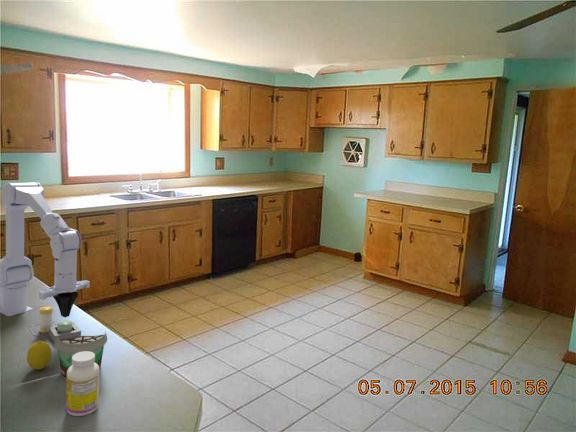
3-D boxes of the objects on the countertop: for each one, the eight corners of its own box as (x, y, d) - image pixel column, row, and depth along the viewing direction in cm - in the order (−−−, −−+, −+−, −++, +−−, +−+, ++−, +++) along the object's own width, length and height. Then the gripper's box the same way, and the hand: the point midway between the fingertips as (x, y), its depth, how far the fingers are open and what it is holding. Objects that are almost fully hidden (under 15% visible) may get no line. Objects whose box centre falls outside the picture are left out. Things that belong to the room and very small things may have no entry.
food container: (54, 386, 105) (54, 347, 103) (54, 373, 110) (54, 336, 108) (108, 377, 111) (109, 341, 109) (106, 365, 116) (107, 331, 114)
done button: (55, 330, 129) (55, 322, 128) (70, 327, 131) (70, 319, 131) (59, 335, 126) (59, 327, 125) (74, 332, 128) (74, 324, 128)
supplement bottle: (73, 399, 101) (74, 347, 98) (102, 400, 101) (104, 349, 99) (60, 417, 94) (61, 362, 92) (92, 418, 95) (93, 364, 93)
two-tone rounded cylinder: (36, 330, 130) (37, 308, 129) (48, 326, 133) (48, 305, 132) (43, 334, 129) (43, 312, 128) (55, 330, 132) (55, 308, 131)
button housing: (48, 334, 129) (48, 326, 129) (73, 329, 134) (73, 322, 133) (55, 343, 124) (55, 336, 123) (80, 338, 129) (81, 330, 128)
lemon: (56, 366, 113) (56, 337, 112) (42, 377, 108) (42, 347, 107) (36, 363, 114) (36, 334, 112) (21, 374, 108) (21, 344, 107)
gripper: (49, 280, 117) (49, 327, 119) (96, 269, 130) (95, 312, 132) (34, 274, 121) (34, 320, 123) (81, 264, 133) (81, 306, 135)
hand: (65, 316), depth 128 cm, fingers closed
